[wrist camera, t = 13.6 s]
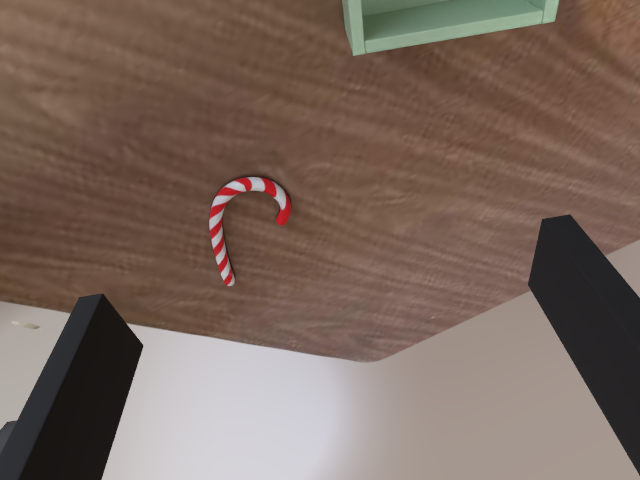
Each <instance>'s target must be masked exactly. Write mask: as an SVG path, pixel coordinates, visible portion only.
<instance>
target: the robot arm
mask: <svg viewBox="0 0 640 480" xmlns="http://www.w3.org/2000/svg"><path fill="white" fill-rule="evenodd" d="M528 286H529V287H530V289H531V291H532V292H533V294H534V296H535V298H536V299H537V301H538V302H539V304H540V306H541V308H542V309H543V311H544V313H545V314H546V316H547V318H548V320H549V321H550V323H551V325H552V327H553V328H554V330H555V332H556V333H557V335H558V337H559V338H560V340H561V342H562V344H563V345H564V347H565V349H566V351H567V352H568V354H569V355H570V357H571V359H572V361H573V362H574V364H575V366H576V368H577V369H578V371H579V373H580V374H581V376H582V378H583V379H584V381H585V383H586V385H587V386H588V388H589V390H590V391H591V393H592V395H593V396H594V398H595V400H596V402H597V403H598V405H599V407H600V408H601V410H602V412H603V414H604V415H605V417H606V419H607V420H608V422H609V424H610V426H611V427H612V429H613V431H614V432H615V434H616V436H617V437H618V439H619V441H620V443H621V444H622V446H623V448H624V449H625V451H626V453H627V455H628V456H629V458H630V460H631V461H632V463H633V465H634V467H635V468H636V470H637V472H638V473H639V475H640V298H639V297H638V295H637V294H636V293H635V292H634V291H633V290H632V288H631V287H630V286H629V285H628V283H627V282H626V281H625V280H624V279H623V277H622V276H621V275H620V274H619V273H618V272H617V270H616V269H615V268H614V267H613V265H612V264H611V263H610V262H609V261H608V259H607V258H606V257H605V256H604V255H603V253H602V252H601V251H600V250H599V249H598V247H597V246H596V245H595V244H594V243H593V241H592V240H591V239H590V238H589V237H588V235H587V234H586V233H585V232H584V231H583V229H582V228H581V227H580V226H579V225H578V223H577V222H576V221H575V220H574V219H573V217H572V216H571V215H564V216H558V217H552V218H546V219H542V222H541V227H540V231H539V236H538V241H537V245H536V250H535V255H534V259H533V264H532V268H531V273H530V278H529V282H528ZM142 349H143V344H142V343H141V342H140V340H139V339H138V338H137V337H136V335H135V334H134V333H133V332H132V330H131V329H130V328H129V327H128V325H127V324H126V323H125V321H124V320H123V319H122V317H121V316H120V315H119V314H118V312H117V311H116V310H115V308H114V307H113V306H112V305H111V303H110V302H109V301H108V300H107V298H106V297H105V296H104V294H97V295H91V296H85V297H79V299H78V301H77V303H76V305H75V307H74V309H73V311H72V313H71V315H70V317H69V319H68V321H67V323H66V325H65V327H64V329H63V331H62V333H61V335H60V337H59V339H58V341H57V343H56V345H55V347H54V349H53V351H52V353H51V355H50V357H49V359H48V361H47V363H46V364H45V366H44V369H43V370H42V373H41V375H40V376H39V378H38V380H37V382H36V384H35V386H34V388H33V390H32V392H31V394H30V396H29V398H28V400H27V402H26V404H25V406H24V408H23V410H22V412H21V414H20V416H19V418H18V420H17V421H11V422H7V423H6V424H5V425H4V426H3V428H2V429H1V430H0V480H101V479H102V476H103V473H104V469H105V466H106V463H107V460H108V457H109V453H110V450H111V447H112V443H113V441H114V438H115V434H116V431H117V428H118V425H119V422H120V418H121V415H122V412H123V409H124V405H125V402H126V399H127V396H128V393H129V390H130V387H131V384H132V380H133V377H134V374H135V371H136V368H137V364H138V361H139V358H140V355H141V352H142Z"/></svg>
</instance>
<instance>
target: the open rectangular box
mask: <svg viewBox="0 0 640 480" xmlns="http://www.w3.org/2000/svg"><path fill="white" fill-rule="evenodd" d="M558 3H559V0H342V5H343V15H344V24H345V30H346V33H347V37H348V40H349V43H350V47H351V50H352V53H353V56H356V55H362V54H365V53H373V52H379V51H385V50H390V49H396V48H402V47H408V46H414V45H420V44H426V43H431V42H437V41H443V40H449V39H455V38H461V37H467V36H473V35H478V34H484V33H490V32H496V31H502V30H508V29H514V28H519V27H525V26H531V25H537V24H541V23H542V24H544V23H550V22H554V21H555V18H556V13H557V8H558Z"/></svg>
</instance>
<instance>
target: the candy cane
mask: <svg viewBox="0 0 640 480" xmlns="http://www.w3.org/2000/svg"><path fill="white" fill-rule="evenodd" d="M245 191H262V192H265V193H268V194H270V195H271V196H272V197H274V198H275V199H276V200H277V201H278V203H279V205H280V212H279V214H278V216H277V218H276V221H277V223H278V224H279V225H285V224H286V222H287V221H288V219H289V217H290V214H291V202H290V199H289V197H288V195H287V194H286V192H285V191H284V190H283V189H282V188H281V187H280V186H279V185H278V184H276V183H275V182H273V181H271V180H268V179H265V178H259V177H246V178H241V179H237V180H235V181H232V182H230V183H229V184H227V185H226V186H225V187H223V188H222V189H221V190H220V191H219V193H218V194H217V195H216V197H215V199H214V201H213V204H212V207H211V211H210V218H209V227H210V235H211V241H212V245H213V250H214V254H215V258H216V261H217V264H218V267H219V270H220V273H221V275H222V278H223V280H224V282H225V284H226V285H227V286H232V285H233V284H234V283H235V277H234V274H233V271H232V269H231V266H230V262H229V259H228V255H227V251H226V247H225V242H224V236H223V228H222V217H223V211H224V208H225V206H226V204H227V203H228V201H229V200H230V199H231V198H232V197H233V196H235V195H237V194H239V193H241V192H245Z"/></svg>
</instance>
